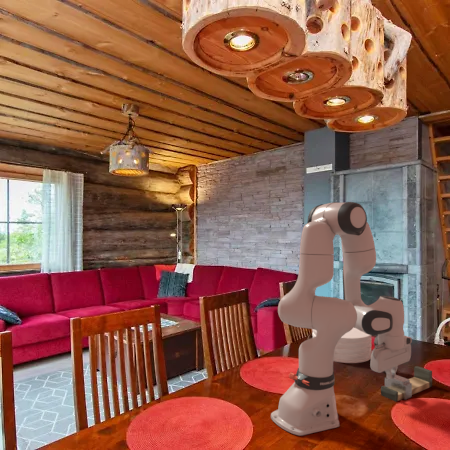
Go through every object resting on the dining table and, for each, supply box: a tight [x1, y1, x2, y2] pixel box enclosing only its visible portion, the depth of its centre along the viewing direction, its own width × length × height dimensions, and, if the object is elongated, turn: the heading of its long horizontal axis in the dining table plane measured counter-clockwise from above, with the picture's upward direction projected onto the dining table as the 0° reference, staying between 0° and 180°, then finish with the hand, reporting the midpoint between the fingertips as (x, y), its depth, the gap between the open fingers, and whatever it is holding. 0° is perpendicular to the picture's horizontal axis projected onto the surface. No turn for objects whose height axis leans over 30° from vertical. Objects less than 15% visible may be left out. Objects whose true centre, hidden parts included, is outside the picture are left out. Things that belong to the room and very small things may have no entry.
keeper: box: [384, 374, 413, 401], centre depth 135 cm, size 4×8×6 cm, turn 33°
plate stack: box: [311, 327, 373, 364], centre depth 180 cm, size 28×28×12 cm
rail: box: [380, 365, 433, 402], centre depth 138 cm, size 24×6×6 cm, turn 123°
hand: (390, 378), depth 133 cm, fingers closed
